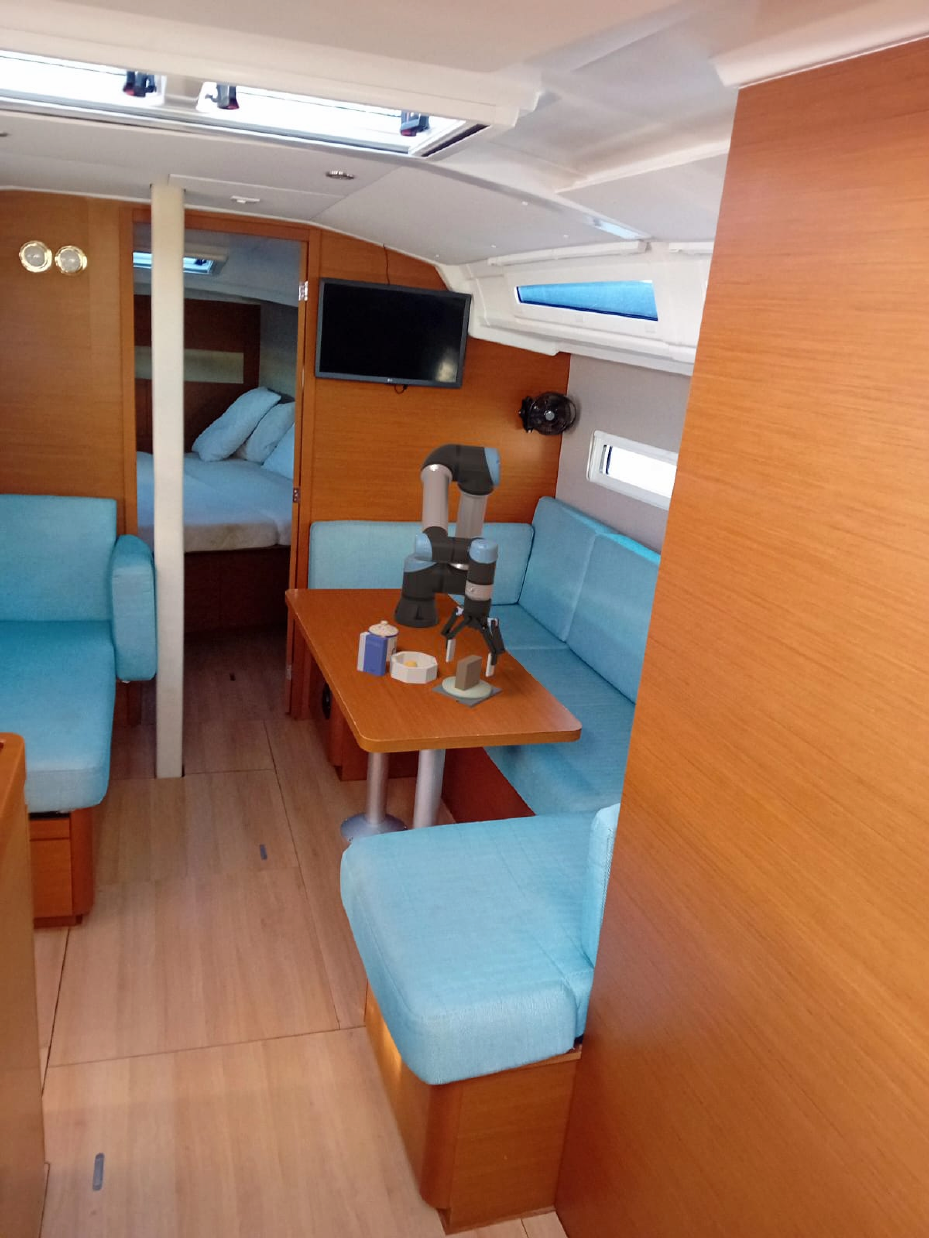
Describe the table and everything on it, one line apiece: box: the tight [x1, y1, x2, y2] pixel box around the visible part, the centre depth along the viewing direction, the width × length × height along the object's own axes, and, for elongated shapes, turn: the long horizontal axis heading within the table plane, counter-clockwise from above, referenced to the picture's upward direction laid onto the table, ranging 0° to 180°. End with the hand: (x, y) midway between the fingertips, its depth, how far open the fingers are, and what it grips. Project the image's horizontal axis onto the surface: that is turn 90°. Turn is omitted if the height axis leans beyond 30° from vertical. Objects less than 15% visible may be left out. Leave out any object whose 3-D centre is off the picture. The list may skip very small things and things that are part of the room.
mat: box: [430, 683, 503, 708], centre depth 265 cm, size 16×14×1 cm
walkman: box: [356, 631, 388, 677], centre depth 267 cm, size 8×3×12 cm, turn 64°
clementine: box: [405, 661, 418, 667], centre depth 270 cm, size 4×4×4 cm
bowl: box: [388, 650, 439, 685], centre depth 270 cm, size 13×13×5 cm
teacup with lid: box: [367, 620, 400, 662], centre depth 281 cm, size 12×9×12 cm
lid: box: [441, 654, 492, 700], centre depth 263 cm, size 14×14×9 cm
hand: (469, 667), depth 262 cm, fingers open, 13 cm apart
